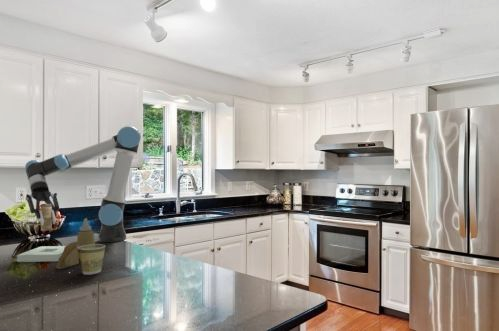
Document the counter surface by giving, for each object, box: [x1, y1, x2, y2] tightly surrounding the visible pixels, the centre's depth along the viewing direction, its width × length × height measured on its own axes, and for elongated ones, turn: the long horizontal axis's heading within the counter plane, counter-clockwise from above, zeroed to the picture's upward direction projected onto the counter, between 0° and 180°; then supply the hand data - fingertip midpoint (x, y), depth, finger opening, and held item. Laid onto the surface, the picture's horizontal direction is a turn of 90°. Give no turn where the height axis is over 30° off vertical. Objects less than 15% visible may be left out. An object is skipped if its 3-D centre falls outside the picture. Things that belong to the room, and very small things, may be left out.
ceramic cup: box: [77, 243, 106, 276], centre depth 143 cm, size 13×10×10 cm
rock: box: [55, 241, 80, 270], centre depth 152 cm, size 11×9×10 cm
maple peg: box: [40, 203, 53, 232], centre depth 170 cm, size 4×4×12 cm
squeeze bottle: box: [76, 217, 96, 260], centre depth 165 cm, size 8×8×18 cm
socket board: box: [16, 245, 66, 263], centre depth 169 cm, size 18×18×3 cm
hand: (48, 222), depth 168 cm, fingers closed on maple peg, 4 cm apart
